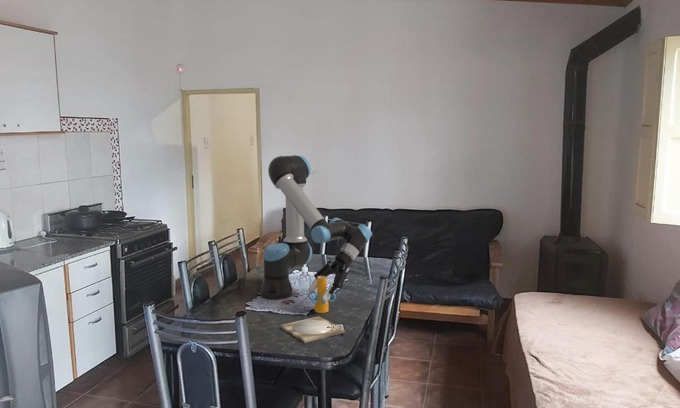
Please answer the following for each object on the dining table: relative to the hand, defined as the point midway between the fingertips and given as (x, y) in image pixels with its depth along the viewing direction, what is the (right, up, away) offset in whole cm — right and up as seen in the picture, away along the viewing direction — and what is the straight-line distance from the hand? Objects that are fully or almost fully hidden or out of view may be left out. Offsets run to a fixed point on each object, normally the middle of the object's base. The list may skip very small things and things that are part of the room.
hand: (316, 295), depth 225 cm
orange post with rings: (+2, -7, +3) cm, 8 cm away
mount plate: (-1, -10, -19) cm, 21 cm away
